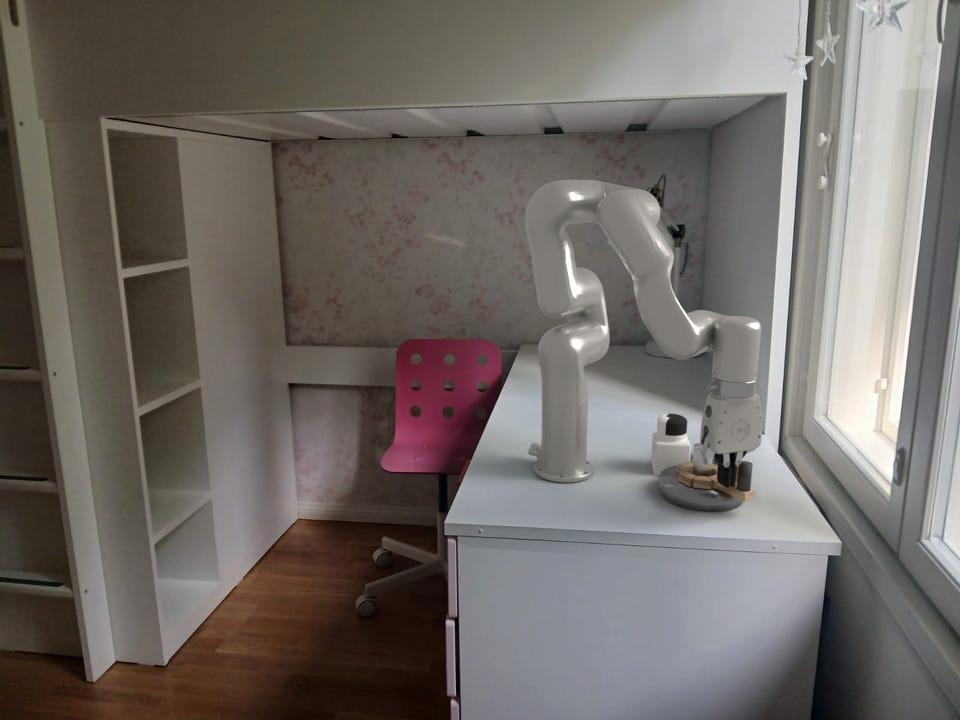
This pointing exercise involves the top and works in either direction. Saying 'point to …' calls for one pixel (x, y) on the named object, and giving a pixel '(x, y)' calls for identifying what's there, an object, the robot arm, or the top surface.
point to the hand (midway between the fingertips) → (726, 484)
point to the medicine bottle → (670, 443)
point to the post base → (695, 496)
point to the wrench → (739, 491)
